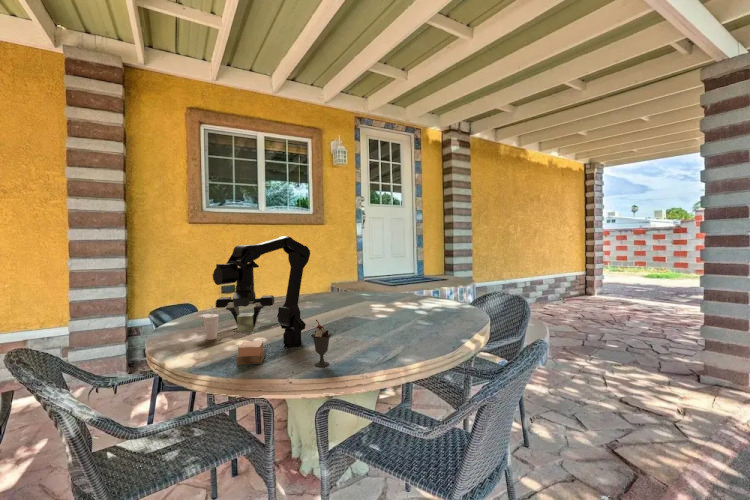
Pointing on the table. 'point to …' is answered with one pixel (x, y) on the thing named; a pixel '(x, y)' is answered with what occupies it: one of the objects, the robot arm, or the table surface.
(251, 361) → the bottom slab
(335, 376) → the table surface
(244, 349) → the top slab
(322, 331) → the sundae
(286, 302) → the robot arm
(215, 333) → the smoothie
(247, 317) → the cube
